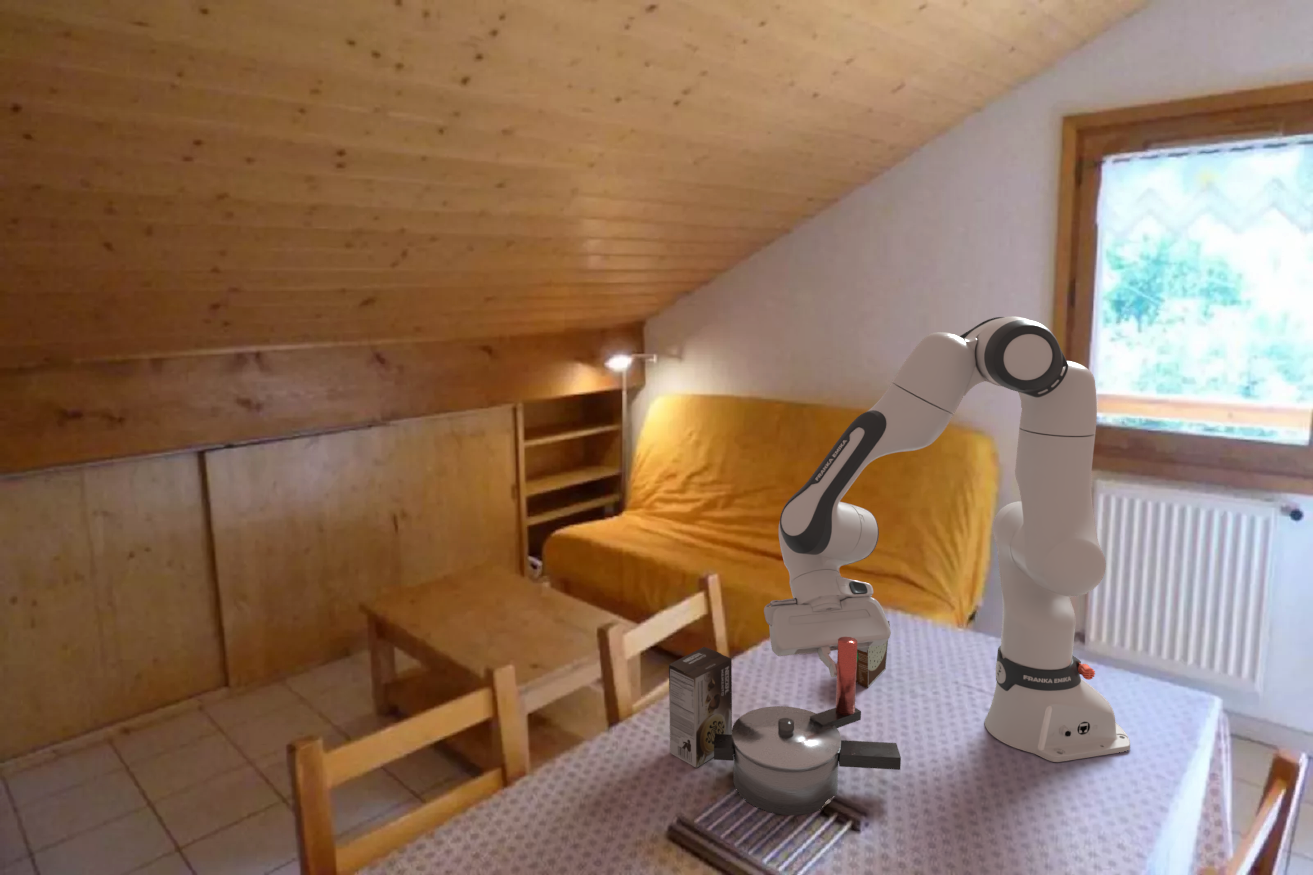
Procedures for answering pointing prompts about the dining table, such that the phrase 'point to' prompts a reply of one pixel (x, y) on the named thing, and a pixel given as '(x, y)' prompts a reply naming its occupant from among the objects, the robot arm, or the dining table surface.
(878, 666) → the food container
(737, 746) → the lid
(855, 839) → the dining table surface
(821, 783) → the pot
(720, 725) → the coffee box
